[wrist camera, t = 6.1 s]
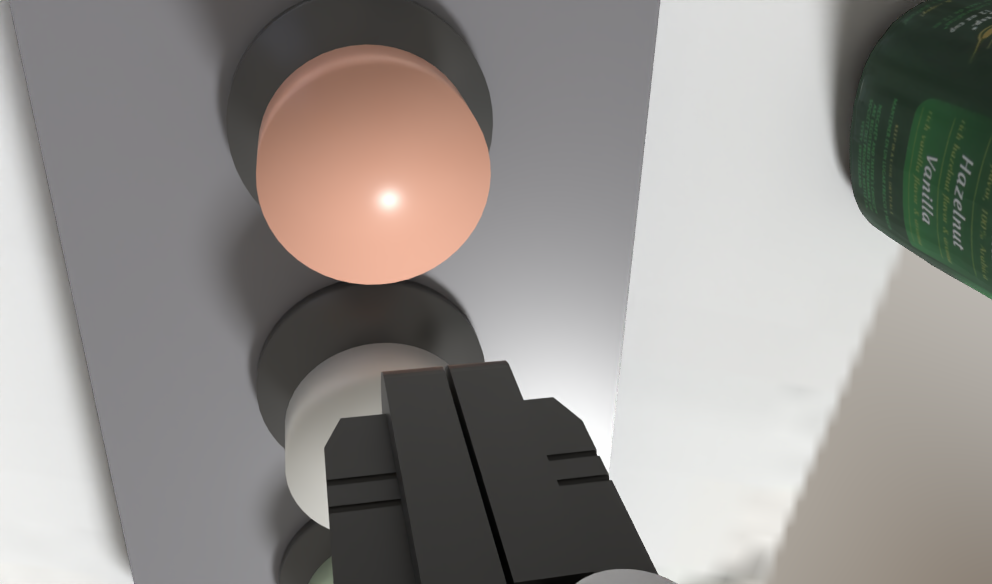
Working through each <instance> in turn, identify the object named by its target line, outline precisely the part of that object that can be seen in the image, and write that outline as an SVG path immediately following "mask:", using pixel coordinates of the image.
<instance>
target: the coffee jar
mask: <svg viewBox="0 0 992 584" xmlns="http://www.w3.org/2000/svg"><path fill="white" fill-rule="evenodd" d="M850 174H851V182H852V188H853V193H854V197H855V199H856V202H857V204H858V207H859V209H860V211H861V212H862V214H863V215H864V217H865V218H866V219H867V220H868V221H869V222H870V223H871V224H872V225H873V226H874V227H876V228H877V229H879V230H880V231H882V232H883V233H884V234H886V235H887V236H889V237H890V238H892V239H893V240H895V241H896V242H898V243H899V244H901V245H902V246H904V247H905V248H907V249H908V250H910V251H911V252H913V253H915V254H916V255H918V256H919V257H921V258H923V259H924V260H925V261H927V262H928V263H930V264H931V265H933V266H934V267H936V268H938V269H940V270H942V271H943V272H945V273H947V274H948V275H950V276H952V277H953V278H955V279H957V280H959V281H961V282H962V283H964V284H966V285H968V286H970V287H971V288H973V289H975V290H977V291H978V292H980V293H982V294H984V295H985V296H987V297H988V298H990V299H992V0H927V1H925V2H923V3H921V4H919V5H917V6H916V7H914V8H912V9H910V10H909V11H908V12H906V13H905V14H904V15H902V16H901V17H900V18H899V19H897V20H896V21H895V22H893V23H892V25H891V26H890V27H889V29H888V30H887V31H886V33H885V34H884V35H883V37H882V38H881V39H880V40H879V41H878V43H877V45H876V46H875V48H874V49H873V51H872V52H871V54H870V56H869V58H868V60H867V62H866V64H865V67H864V70H863V73H862V76H861V79H860V82H859V85H858V89H857V94H856V98H855V102H854V106H853V115H852V123H851V129H850Z"/></svg>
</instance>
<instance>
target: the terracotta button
mask: <svg viewBox="0 0 992 584" xmlns="http://www.w3.org/2000/svg"><path fill="white" fill-rule="evenodd" d="M490 178H491V170H490V158H489V152H488V147H487V144H486V141H485V138H484V135H483V133H482V131H481V129H480V127H479V125H478V122H477V121H476V119H475V117H474V116H473V114H472V112H471V111H470V109H469V107H468V106H467V104H466V102H465V101H464V99H463V97H462V96H461V94H460V93H459V91H458V90H457V88H456V87H455V86H454V85H453V83H452V82H451V81H450V80H449V79H448V78H447V77H446V76H445V75H444V74H443V73H442V72H441V71H440V70H438V69H437V68H436V67H435V66H433V65H432V64H430V63H429V62H427V61H426V60H424V59H422V58H420V57H418V56H416V55H414V54H412V53H410V52H407V51H404V50H401V49H397V48H393V47H388V46H382V45H366V44H365V45H354V46H347V47H343V48H338V49H334V50H332V51H329V52H326V53H323V54H321V55H319V56H317V57H315V58H313V59H311V60H309V61H308V62H306V63H305V64H303V65H302V66H301V67H299V68H298V69H296V70H295V71H294V72H293V73H292V74H291V75H290V76H289V77H288V78H287V79H286V80H285V81H284V82H283V83H282V84H281V86H280V87H279V88H278V89H277V91H276V92H275V94H274V95H273V97H272V99H271V100H270V102H269V104H268V106H267V109H266V111H265V113H264V116H263V119H262V123H261V126H260V130H259V139H258V149H257V165H256V187H257V193H258V198H259V203H260V206H261V209H262V212H263V215H264V217H265V219H266V221H267V223H268V225H269V227H270V229H271V231H272V232H273V234H274V235H275V237H276V238H277V240H278V241H279V242H280V243H281V244H282V245H283V247H284V248H285V249H286V250H287V251H288V252H289V253H290V254H292V255H293V256H294V257H295V258H296V259H297V260H298V261H300V262H301V263H303V264H304V265H306V266H307V267H309V268H310V269H312V270H314V271H316V272H318V273H320V274H322V275H325V276H328V277H330V278H333V279H336V280H340V281H344V282H349V283H356V284H365V285H369V284H387V283H395V282H399V281H403V280H407V279H410V278H413V277H415V276H418V275H421V274H423V273H425V272H427V271H429V270H431V269H433V268H435V267H436V266H438V265H439V264H441V263H442V262H444V261H445V260H447V259H448V258H449V257H450V256H451V255H452V254H454V253H455V252H456V251H457V250H458V249H459V248H460V247H461V246H462V245H463V243H464V242H465V241H466V240H467V239H468V237H469V236H470V235H471V233H472V232H473V230H474V229H475V227H476V225H477V223H478V222H479V220H480V218H481V216H482V213H483V210H484V208H485V205H486V202H487V198H488V194H489V189H490Z"/></svg>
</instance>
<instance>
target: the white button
mask: <svg viewBox="0 0 992 584" xmlns="http://www.w3.org/2000/svg"><path fill="white" fill-rule="evenodd" d="M447 365H448V364H447V363H446V362H445V361H444V360H442V359H441V358H439V357H438V356H436V355H434V354H432V353H430V352H428V351H426V350H423V349H420V348H417V347H414V346H410V345H405V344H397V343H375V344H367V345H362V346H358V347H354V348H351V349H348V350H345V351H343V352H340V353H338V354H336V355H334V356H332V357H330V358H328V359H327V360H325V361H324V362H322V363H321V364H319V365H318V366H317V367H315V368H314V369H313V370H312V371H311V372H310V373H309V374H308V375H307V376H306V377H305V378H304V379H303V380H302V381H301V383H300V384H299V385H298V387H297V388H296V390H295V391H294V393H293V395H292V398H291V400H290V402H289V405H288V408H287V411H286V418H285V474H286V479H287V484H288V487H289V489H290V492H291V494H292V496H293V498H294V500H295V501H296V503H297V504H298V505H299V507H300V508H301V509H302V510H303V511H304V512H305V513H306V514H307V515H308V516H309V517H310V518H311V519H313V520H314V521H316V522H317V523H319V524H320V525H322V526H324V527H326V528H328V529H330V527H329V513H328V499H327V484H326V470H325V456H324V447H325V445H326V443H327V441H328V440H329V438H330V436H331V434H332V432H333V431H334V429H335V427H336V425H337V424H338V422H339V420H340V418H348V417H358V416H368V415H379V414H382V402H381V372H383V371H394V370H405V369H416V368H428V367H439V366H442V367H443V369H444V371H445V367H446V366H447Z"/></svg>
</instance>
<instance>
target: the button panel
mask: <svg viewBox="0 0 992 584" xmlns="http://www.w3.org/2000/svg"><path fill="white" fill-rule="evenodd" d="M9 3H10V8H11V13H12V17H13V22H14V27H15V31H16V36H17V41H18V45H19V50H20V55H21V59H22V64H23V69H24V73H25V78H26V82H27V87H28V92H29V96H30V101H31V106H32V110H33V115H34V120H35V124H36V129H37V134H38V138H39V143H40V148H41V152H42V157H43V162H44V166H45V171H46V176H47V180H48V185H49V190H50V194H51V199H52V203H53V208H54V213H55V217H56V222H57V227H58V231H59V236H60V241H61V245H62V250H63V255H64V259H65V264H66V269H67V273H68V278H69V283H70V287H71V292H72V297H73V301H74V306H75V310H76V315H77V320H78V324H79V329H80V334H81V338H82V343H83V348H84V352H85V357H86V362H87V366H88V371H89V376H90V380H91V385H92V390H93V394H94V399H95V404H96V408H97V413H98V417H99V422H100V427H101V431H102V436H103V441H104V445H105V450H106V455H107V459H108V464H109V469H110V473H111V478H112V483H113V487H114V492H115V497H116V501H117V506H118V511H119V515H120V520H121V525H122V529H123V534H124V538H125V543H126V548H127V552H128V557H129V562H130V566H131V571H132V576H133V580H134V584H308V583H309V582H310V580H311V578H312V576H313V575H314V573H315V572H316V571H317V569H318V568H319V567H320V566H321V565H322V564H323V563H324V562H325V561H326V560H327V559H329V558H330V557H331V542H330V529H328V528H326V527H324V526H322V525H320V524H319V523H317V522H316V521H314V520H313V519H311V518H310V517H309V516H308V515H307V514H306V513H305V512H304V511H303V510H302V509H301V508H300V507H299V505H298V504H297V503H296V501H295V500H294V498H293V496H292V494H291V492H290V489H289V487H288V484H287V479H286V474H285V418H286V411H287V408H288V405H289V402H290V400H291V398H292V395H293V393H294V391H295V390H296V388H297V387H298V385H299V384H300V383H301V381H302V380H303V379H304V378H305V377H306V376H307V375H308V374H309V373H310V372H311V371H312V370H313V369H314V368H315V367H317V366H318V365H319V364H321V363H322V362H324V361H325V360H327V359H328V358H330V357H332V356H334V355H336V354H338V353H340V352H343V351H345V350H348V349H351V348H354V347H358V346H362V345H367V344H375V343H397V344H405V345H410V346H414V347H417V348H420V349H423V350H426V351H428V352H430V353H432V354H434V355H436V356H438V357H439V358H441V359H442V360H444V361H445V362H446V363H447V364H448V365H458V364H470V363H481V362H492V361H503V360H506V361H507V362H508V363H509V365H510V368H511V370H512V373H513V375H514V377H515V380H516V382H517V385H518V387H519V390H520V392H521V394H522V397H523V399H524V400H528V399H538V398H549V397H554V398H555V399H556V400H558V401H559V402H560V403H561V404H563V405H564V406H565V407H566V408H568V409H569V410H570V411H571V412H572V413H574V414H575V415H576V416H577V417H579V418H580V419H581V420H582V421H583V423H584V425H585V427H586V429H587V431H588V433H589V435H590V437H591V439H592V441H593V443H594V445H595V447H596V449H597V456H600V457H601V459H602V461H603V463H604V465H605V467H606V470H607V472H608V474H609V466H610V456H611V447H612V438H613V429H614V420H615V411H616V401H617V392H618V383H619V374H620V365H621V356H622V346H623V337H624V328H625V319H626V310H627V301H628V291H629V282H630V273H631V264H632V255H633V246H634V236H635V227H636V218H637V209H638V200H639V191H640V181H641V172H642V163H643V154H644V145H645V136H646V126H647V117H648V108H649V99H650V90H651V81H652V71H653V62H654V53H655V44H656V35H657V26H658V16H659V7H660V0H9ZM365 44H366V45H382V46H388V47H393V48H397V49H401V50H404V51H407V52H410V53H412V54H414V55H416V56H418V57H420V58H422V59H424V60H426V61H427V62H429V63H430V64H432V65H433V66H435V67H436V68H437V69H438V70H440V71H441V72H442V73H443V74H444V75H445V76H446V77H447V78H448V79H449V80H450V81H451V82H452V83H453V85H454V86H455V87H456V88H457V90H458V91H459V93H460V94H461V96H462V97H463V99H464V101H465V102H466V104H467V106H468V107H469V109H470V111H471V112H472V114H473V116H474V117H475V119H476V121H477V122H478V125H479V127H480V129H481V131H482V133H483V135H484V138H485V141H486V144H487V147H488V152H489V158H490V170H491V178H490V189H489V194H488V198H487V202H486V205H485V208H484V210H483V213H482V216H481V218H480V220H479V222H478V223H477V225H476V227H475V229H474V230H473V232H472V233H471V235H470V236H469V237H468V239H467V240H466V241H465V242H464V243H463V245H462V246H461V247H460V248H459V249H458V250H457V251H456V252H455V253H454V254H452V255H451V256H450V257H449V258H448V259H447V260H445V261H444V262H442V263H441V264H439V265H438V266H436V267H435V268H433V269H431V270H429V271H427V272H425V273H423V274H421V275H418V276H415V277H413V278H410V279H407V280H403V281H399V282H395V283H387V284H369V285H365V284H356V283H349V282H344V281H340V280H336V279H333V278H330V277H328V276H325V275H322V274H320V273H318V272H316V271H314V270H312V269H310V268H309V267H307V266H306V265H304V264H303V263H301V262H300V261H298V260H297V259H296V258H295V257H294V256H293V255H292V254H290V253H289V252H288V251H287V250H286V249H285V248H284V247H283V245H282V244H281V243H280V242H279V241H278V240H277V238H276V237H275V235H274V234H273V232H272V231H271V229H270V227H269V225H268V223H267V221H266V219H265V217H264V215H263V212H262V209H261V206H260V203H259V198H258V193H257V187H256V165H257V149H258V139H259V130H260V126H261V123H262V119H263V116H264V113H265V111H266V109H267V106H268V104H269V102H270V100H271V99H272V97H273V95H274V94H275V92H276V91H277V89H278V88H279V87H280V86H281V84H282V83H283V82H284V81H285V80H286V79H287V78H288V77H289V76H290V75H291V74H292V73H293V72H294V71H295V70H296V69H298V68H299V67H301V66H302V65H303V64H305V63H306V62H308V61H309V60H311V59H313V58H315V57H317V56H319V55H321V54H323V53H326V52H329V51H332V50H334V49H338V48H343V47H347V46H354V45H365Z"/></svg>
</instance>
